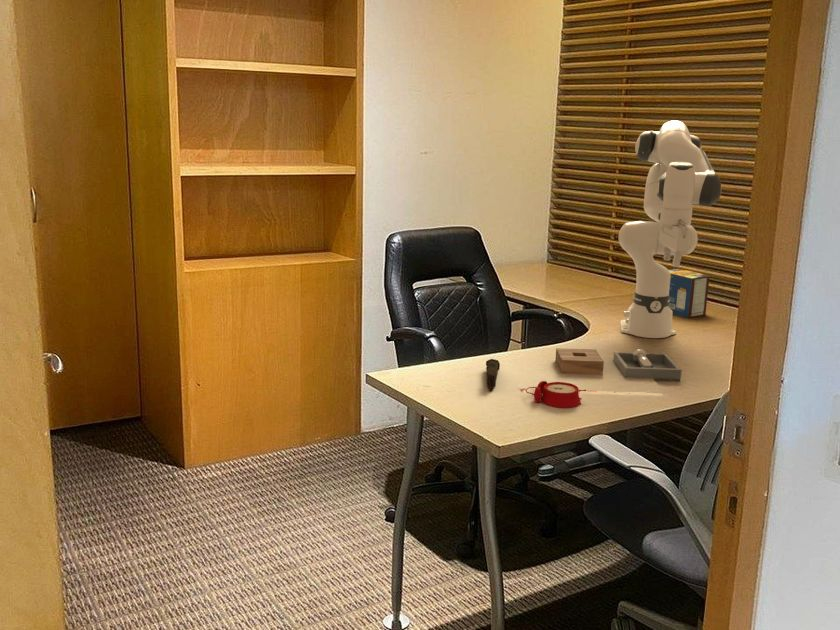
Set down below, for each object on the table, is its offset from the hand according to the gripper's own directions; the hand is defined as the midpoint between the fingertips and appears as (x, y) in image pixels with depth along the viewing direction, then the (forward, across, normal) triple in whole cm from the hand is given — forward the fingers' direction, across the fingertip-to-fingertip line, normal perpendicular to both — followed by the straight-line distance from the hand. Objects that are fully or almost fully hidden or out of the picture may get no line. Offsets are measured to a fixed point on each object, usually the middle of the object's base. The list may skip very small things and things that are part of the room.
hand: (671, 263), depth 249 cm
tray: (+31, -12, +8) cm, 34 cm away
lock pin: (+28, -15, +8) cm, 33 cm away
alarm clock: (+31, -39, +39) cm, 63 cm away
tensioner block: (+31, -12, +28) cm, 43 cm away
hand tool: (+31, -25, +54) cm, 67 cm away
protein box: (+32, +65, -25) cm, 76 cm away
